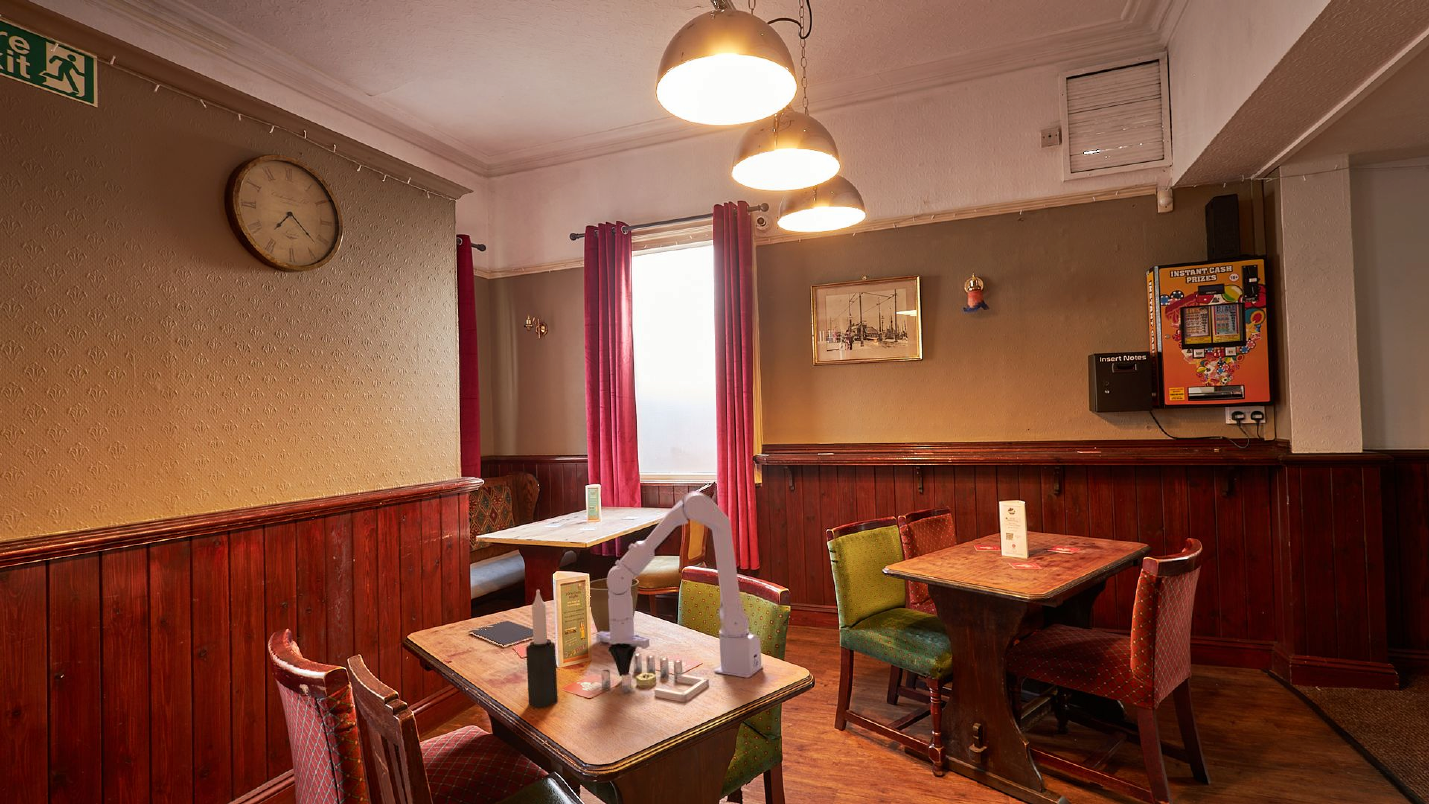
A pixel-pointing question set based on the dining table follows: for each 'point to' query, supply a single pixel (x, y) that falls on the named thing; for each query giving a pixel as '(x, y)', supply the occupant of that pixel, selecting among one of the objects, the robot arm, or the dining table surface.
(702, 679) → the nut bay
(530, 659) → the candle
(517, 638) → the notebook
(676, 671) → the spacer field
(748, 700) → the dining table surface
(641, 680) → the brass nut
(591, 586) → the plant pot
